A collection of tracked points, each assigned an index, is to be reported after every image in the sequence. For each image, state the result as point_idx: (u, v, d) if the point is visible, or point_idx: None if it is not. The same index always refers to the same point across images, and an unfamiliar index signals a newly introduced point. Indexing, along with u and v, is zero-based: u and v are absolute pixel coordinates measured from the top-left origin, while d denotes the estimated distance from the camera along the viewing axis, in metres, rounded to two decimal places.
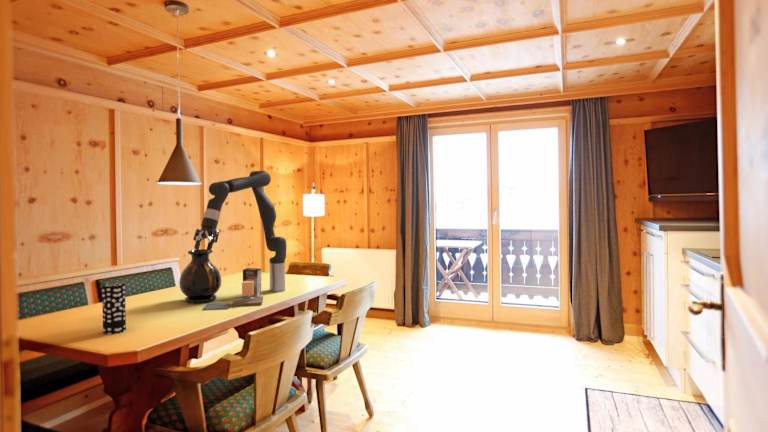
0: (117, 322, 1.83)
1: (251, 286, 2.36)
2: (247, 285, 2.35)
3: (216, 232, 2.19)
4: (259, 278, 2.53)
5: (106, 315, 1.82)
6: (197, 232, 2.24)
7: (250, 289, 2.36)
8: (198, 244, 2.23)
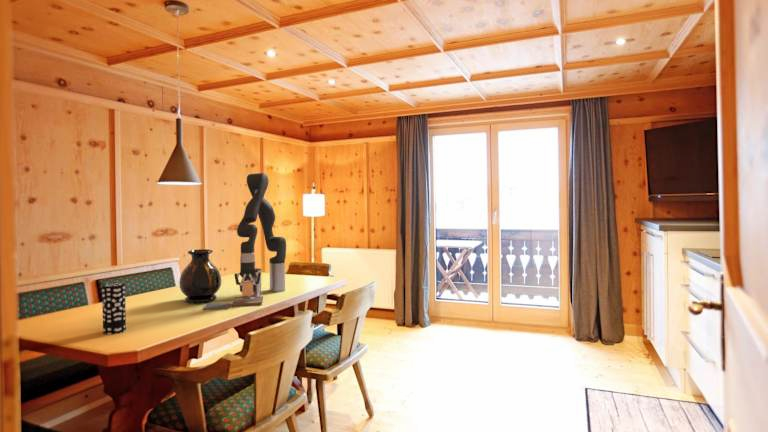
0: (117, 322, 1.83)
1: (251, 286, 2.36)
2: (247, 285, 2.35)
3: None
4: None
5: (106, 315, 1.82)
6: (237, 276, 2.36)
7: (250, 289, 2.36)
8: None
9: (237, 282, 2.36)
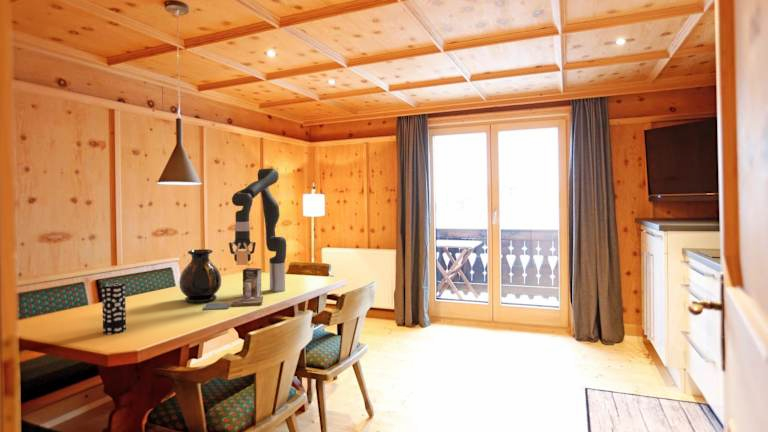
0: (117, 322, 1.83)
1: (246, 255, 2.33)
2: (242, 254, 2.33)
3: None
4: (259, 278, 2.53)
5: (106, 315, 1.82)
6: (232, 245, 2.33)
7: (245, 258, 2.33)
8: None
9: (231, 251, 2.33)
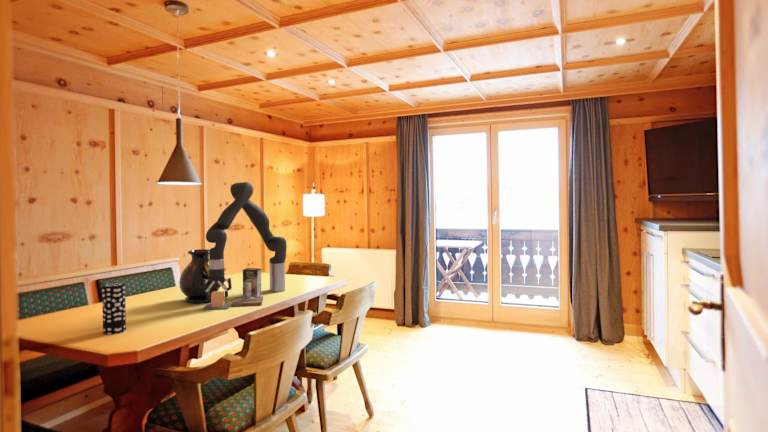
0: (117, 322, 1.83)
1: (221, 297, 2.27)
2: (216, 296, 2.26)
3: (230, 280, 2.30)
4: (259, 278, 2.53)
5: (106, 315, 1.82)
6: (205, 283, 2.26)
7: (220, 300, 2.27)
8: None
9: (203, 288, 2.26)
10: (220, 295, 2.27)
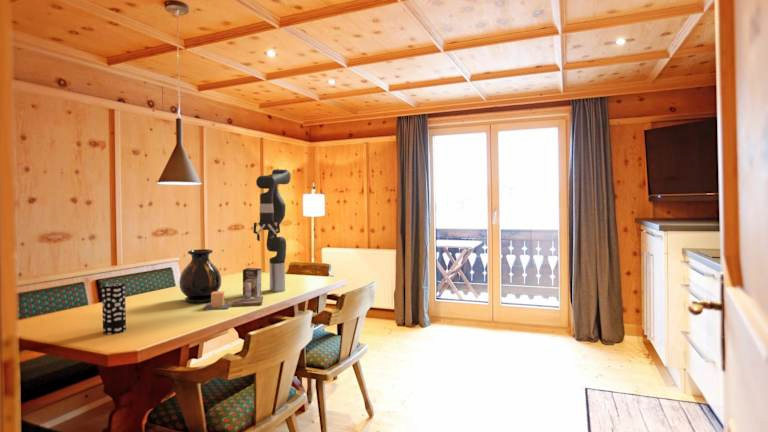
0: (117, 322, 1.83)
1: (221, 297, 2.27)
2: (216, 296, 2.26)
3: (279, 224, 2.45)
4: (259, 278, 2.53)
5: (106, 315, 1.82)
6: (256, 225, 2.42)
7: (220, 300, 2.27)
8: (259, 236, 2.43)
9: (254, 231, 2.42)
10: (220, 295, 2.27)
